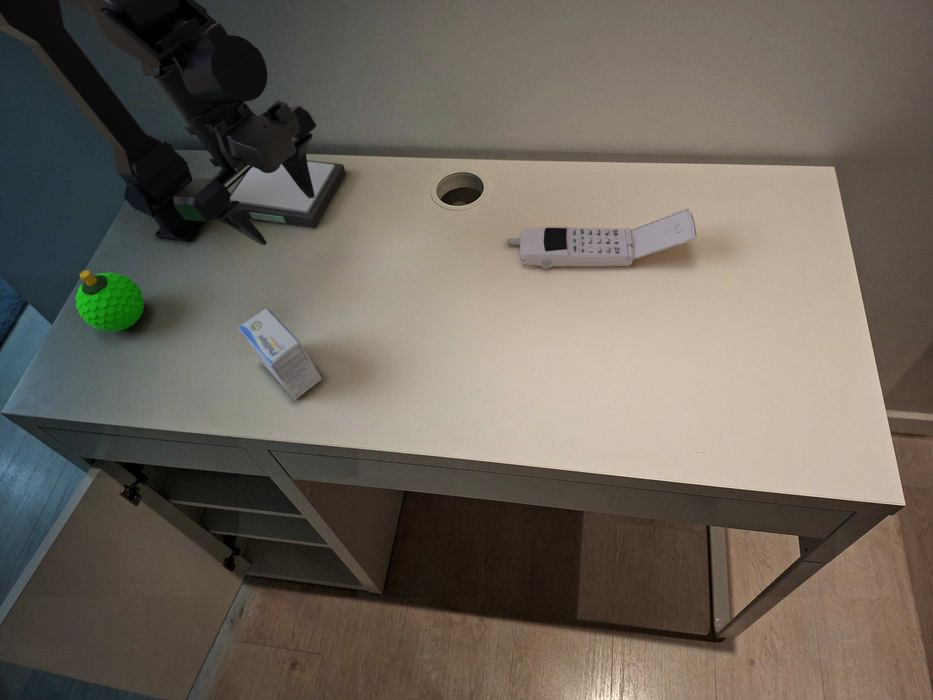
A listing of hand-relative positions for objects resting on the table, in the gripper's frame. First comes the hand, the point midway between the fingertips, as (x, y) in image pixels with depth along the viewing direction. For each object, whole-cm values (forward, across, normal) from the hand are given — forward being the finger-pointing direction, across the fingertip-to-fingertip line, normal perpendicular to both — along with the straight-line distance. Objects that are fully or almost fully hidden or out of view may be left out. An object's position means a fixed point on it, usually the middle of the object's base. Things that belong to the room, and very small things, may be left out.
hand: (288, 220), depth 75 cm
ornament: (+6, -18, +25) cm, 31 cm away
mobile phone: (+24, +24, -26) cm, 42 cm away
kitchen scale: (+7, +14, +22) cm, 26 cm away
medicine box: (+15, -13, -1) cm, 20 cm away
